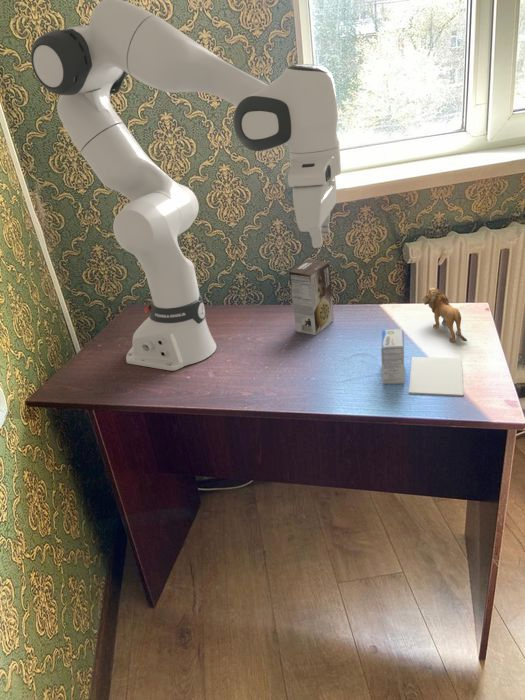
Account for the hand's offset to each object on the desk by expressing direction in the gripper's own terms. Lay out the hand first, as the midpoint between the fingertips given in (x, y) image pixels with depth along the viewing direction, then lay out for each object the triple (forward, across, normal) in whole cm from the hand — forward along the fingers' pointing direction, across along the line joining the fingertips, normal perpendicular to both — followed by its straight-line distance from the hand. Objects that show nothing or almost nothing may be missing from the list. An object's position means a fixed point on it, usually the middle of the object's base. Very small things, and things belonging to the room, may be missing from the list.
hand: (321, 240), depth 102 cm
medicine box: (+29, 0, +13) cm, 32 cm away
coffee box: (+29, -22, -8) cm, 38 cm away
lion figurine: (+30, -21, +23) cm, 43 cm away
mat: (+29, 0, +22) cm, 36 cm away
